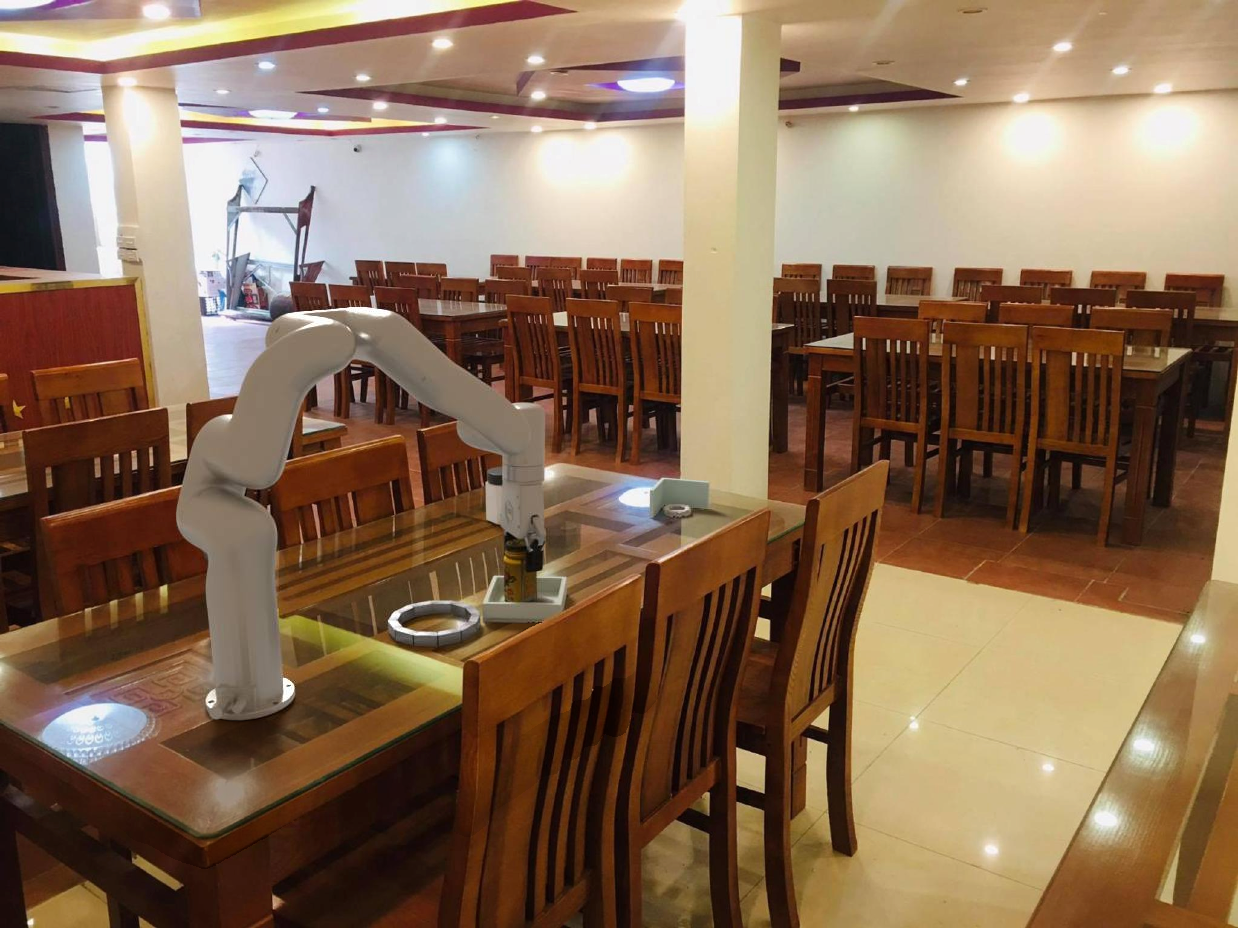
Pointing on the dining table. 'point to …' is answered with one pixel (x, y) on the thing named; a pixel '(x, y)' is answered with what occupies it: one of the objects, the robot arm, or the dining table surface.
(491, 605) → the bin
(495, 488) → the jar
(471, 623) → the collar
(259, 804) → the dining table surface
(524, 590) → the condiment
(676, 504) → the right angle wall
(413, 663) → the dining table surface
